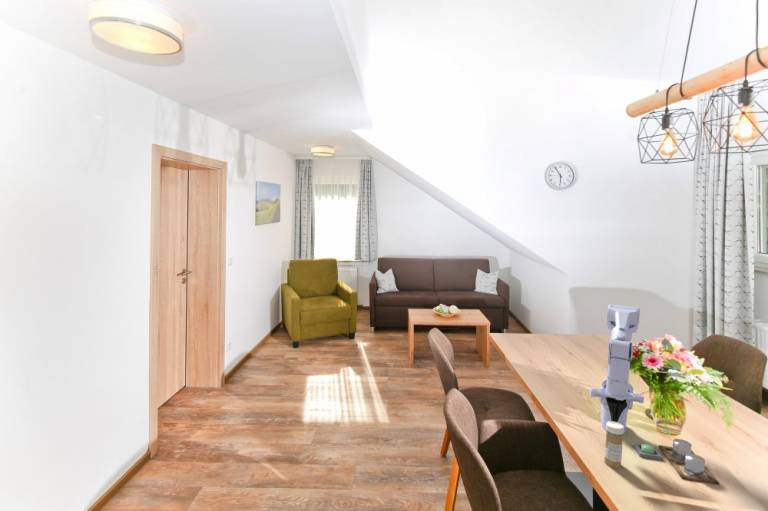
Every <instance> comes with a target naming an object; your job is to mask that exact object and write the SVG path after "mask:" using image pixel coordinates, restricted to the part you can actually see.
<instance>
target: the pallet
mask: <svg viewBox="0 0 768 511" xmlns="http://www.w3.org/2000/svg"><path fill="white" fill-rule="evenodd" d="M658 448H659V449H660V451H661V452H662V454H663V455H664V456H665V457H666V459H667V461H669V463H670V465H671V466H672V467H673V469H674V470H675V472H676V473H677V475H679V477H680V479H681V480H687V481H693V482H700V483H704V484H709V485H710V484H711V485H718V486H719V485H720V482H719V480H717V478H716V477H715V475H713V473H712V472H711V471H710V470H709V469H708V467H707V466H705V468H704V475H706V476H707V478H704V477H703V478H699V477H693V476H690V475H688V474H685V472H684V471H683V470H682V469H681V468H680V466H679V465H681V466H684V464H685V461H681V460H678V459H673V458H674V457H673V456H672V455H671V454H670V453H669V451H672V449H673V446H667V445H661V444H659V445H658ZM691 454H695V455H696V453H695V452H694V451H693V450H692V449H691Z"/></svg>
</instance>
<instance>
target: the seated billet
mask: <svg viewBox="0 0 768 511" xmlns="http://www.w3.org/2000/svg"><path fill="white" fill-rule="evenodd" d="M672 447H673V449H672V452H671V457H672V458H674V459H675V460H679V461H685V455H686V454H691V450H692V444H691V442H689V441H687V440H684V439H681V438H674V439H673V440H672Z"/></svg>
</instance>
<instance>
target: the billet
mask: <svg viewBox="0 0 768 511" xmlns="http://www.w3.org/2000/svg"><path fill="white" fill-rule="evenodd" d="M683 466H684V467H683V473H684V474H685V475H687V476H693V477H699V478H704V476H705V472H704V468H705V467H706V460H705V458H703V457H702V456H700V455H697V454H696V453H695V454H686V455H685V464H684V465H683Z"/></svg>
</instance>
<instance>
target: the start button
mask: <svg viewBox="0 0 768 511" xmlns="http://www.w3.org/2000/svg"><path fill="white" fill-rule="evenodd" d="M641 444H642V445H641V451H642V452H644V453H651V454H654V449H655V448H654V447H653V446H654V445H651V444H649V443H641Z"/></svg>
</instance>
